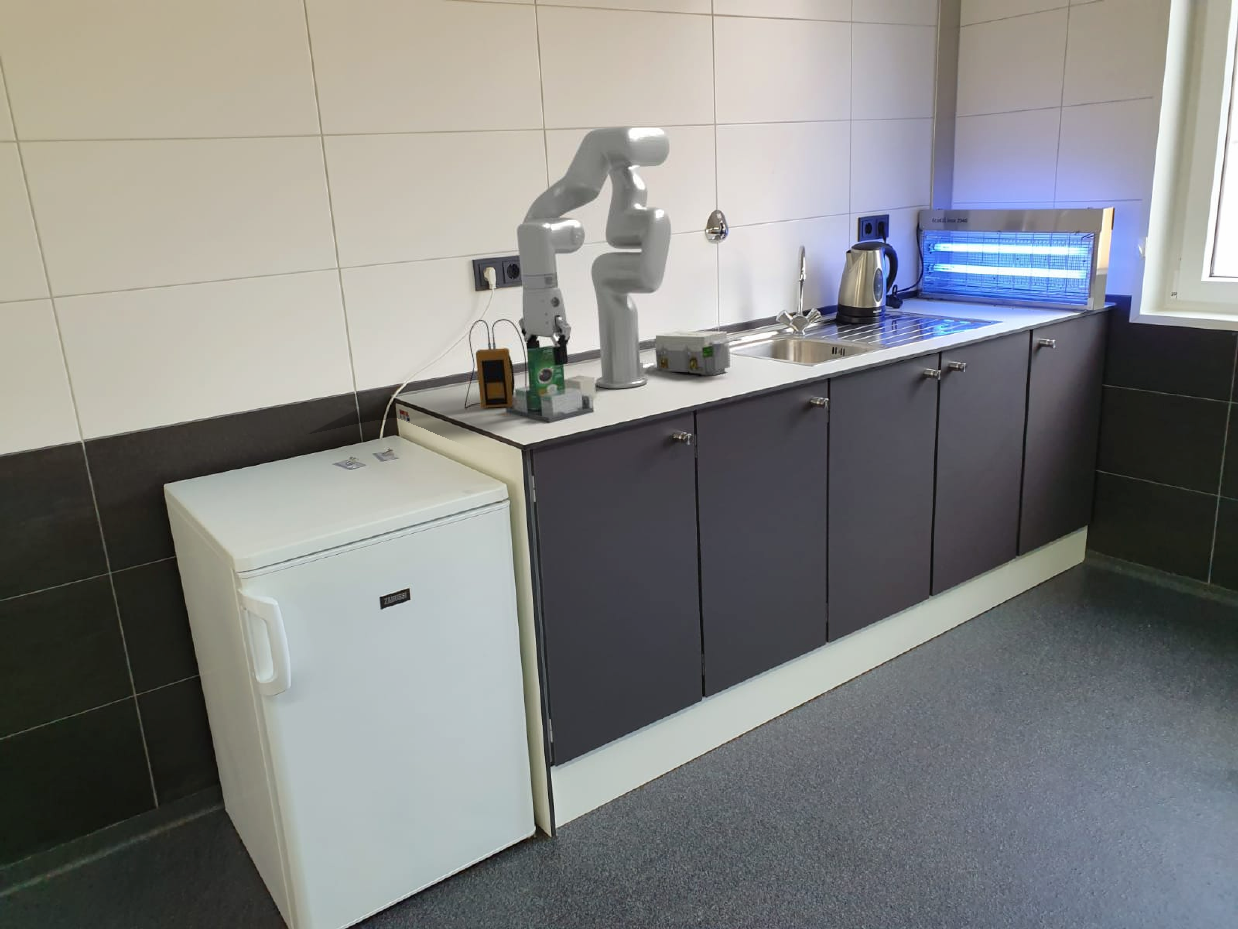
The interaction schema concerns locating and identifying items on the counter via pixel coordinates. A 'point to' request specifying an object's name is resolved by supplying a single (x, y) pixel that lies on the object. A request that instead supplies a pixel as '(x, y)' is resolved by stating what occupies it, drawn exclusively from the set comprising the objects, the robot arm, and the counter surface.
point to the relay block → (582, 384)
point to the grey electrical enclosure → (693, 352)
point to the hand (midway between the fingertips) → (547, 361)
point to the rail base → (545, 416)
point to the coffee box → (543, 374)
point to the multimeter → (495, 374)
